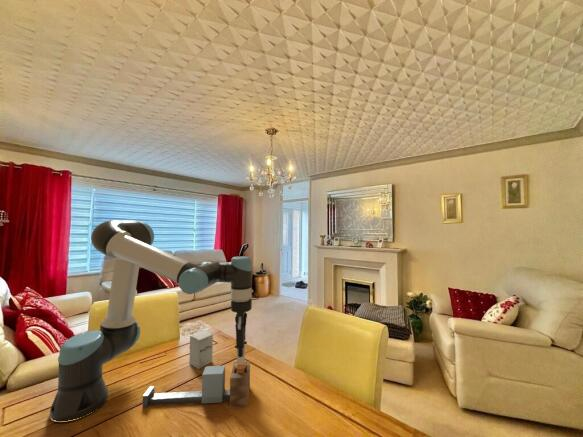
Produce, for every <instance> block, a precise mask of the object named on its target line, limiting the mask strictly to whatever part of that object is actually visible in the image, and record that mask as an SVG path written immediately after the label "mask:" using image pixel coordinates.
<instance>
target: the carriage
mask: <svg viewBox="0 0 583 437" xmlns="http://www.w3.org/2000/svg"><path fill="white" fill-rule="evenodd" d="M224 390H226V365H211V366H210V365H208V366H207V365H205V367H204V370H203V372H202V375H201V391H202V402H201V404H213V403H214V404H215V403H217V404H218V403H223V402H224V401H223V392H224Z"/></svg>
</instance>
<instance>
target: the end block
mask: <svg viewBox="0 0 583 437" xmlns="http://www.w3.org/2000/svg"><path fill="white" fill-rule="evenodd" d="M236 363H237V361H234V363H233V364H232V365H233V366H232V369H231V373H230V377H229V389H230V401H229V408H230V409H232V408H233V409H234V408H247V407H248V405H249V398H250V397H249V396H250V391H251V390H250V389H251V388H250V387H251V361H248V360H247V361H245V363H246V368H245V373H237V370H236V369H235V365H236Z"/></svg>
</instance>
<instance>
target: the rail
mask: <svg viewBox="0 0 583 437" xmlns="http://www.w3.org/2000/svg"><path fill="white" fill-rule="evenodd" d="M226 401H229V402H230V388H228V389H225V390H224V392H223V401H222V402H226ZM193 403H196V404H197V403H202V390H196V391H195V390H194V391H193V390H192V391H177V392H159V393H157V392H156V393H155V385H150V386H149V387H148V388H147V390H146V391H145V392H144V394H143V395H142V408H144V409H145V408H149V406H157V405H158V406H161V405H176V404H193Z"/></svg>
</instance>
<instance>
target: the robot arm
mask: <svg viewBox="0 0 583 437" xmlns="http://www.w3.org/2000/svg"><path fill="white" fill-rule="evenodd" d="M154 239H155V233H154V230H153V228H152V227H151V226H150V225H149V224H148V223H147V222H144V221H141V220H140V221H138V220H107V221H104V222H103V221H102V222H101V223H99V224H98V225H97V226H95V227H94V229H93V231H92V232H91V236H90V241H91V244H92V245H93V247H94V249H95V250H96V251H98V252H100V254H103V255H105V256H106V257H109V258H112V259H114V265H113V270H112V277H111V285H110V290H109V296H108V297H109V298H108V303H107V304H108V305H107V311H106V317H105V318H103V319H102V320H101V321H100V327H99V330H89V331H85V332H82V333H81V332H80V333H78V334H76V335H74V336H71V337H70V338H68V339H67V340H66V341H65V342H63V343H62V345H61V346H60V348H59V353H58V354H59V355H58V358H57V361H58V375H57V376H58V377H57V378H58V380H57V382H58V383H57V392H56V395H55V396H54V400H53V402H52V403H51V404H52V405H51V406H50V410H49V418H50V417H51V418H52V419H53V420H56V421H68V420H73V419H77V418H80V417H83V416H85V415H87V414H89V413H91V412H93V411H95V410H96V409H98V408H99V409H101V407H103V406H104V405H105V403H106V402H107V401H106V400H108V399H109V398H108V397H109V395H108V394H109V390H108V387H107V385H106V383H105V380H104V378H103V367H104V366H103V365H106V363H108V362H110V361H111V360H113V359H115V358H117V357H118V356H119V355H122V354H123V353H125V352H127V351H128V350H130V349H131V348H132V347H134V346H135V344H136V343H137V342H138V340H139V339H140V335H141V328H140V326H139V323H138V322H137V321H136V320H137V319H136V317H135V316H134V315H133V311H134V306H135V305H134V304H135V297H136V292H137V284H138V277H139V270H140V268H142V269H144V270H147V271H149V272H151V273H153V274H155V275H158V276H160V277H163V278H165V279H167V280H170V281H172V282H174V283H176V284H178V286H179V288H180V291H182V293H184V294H188V295H193V294H197V293H199V292H202V291H204V290H205V289H207V288H209V287H211V286H214V285H215V284H217V283H228V284H229V283H230V311H231V312H233V313H236V315H235V317H234V318H235V319H234V321H235V339H236V340H235V342H236V344H235V345H234V348H235V349H236V362H237V365H244V364H245V362H246V345H247V344H248V341H246V330H247V329H246V326H247V319H248V313H247V312H250V311H251V310H252V308H253V305H252V301H253V300H252V297H253V296H252V294H253V293H254V289H253V288H252V286H253V285H252V282H253V265H252V261H253V260H252V258H251V257H250V256H241V255H240V256H233V257H232V258H231V261H230V262H229V261H213V260H211V261H204V262H202V263H201V264H200V265H198V264H194V263H192V262H190V261H189V260H186V259H183V258H181V257H179V256H176V255H174V254H171V253H170V252H167V251H166V250H165V251H164V250H163V249H159V248H158V247H155V246H152V245H153V243H154V241H155V240H154ZM99 409H98V410H99ZM96 411H97V410H96ZM96 411H95V412H96ZM93 413H94V412H93ZM91 414H92V413H91ZM83 418H84V417H83Z"/></svg>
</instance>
